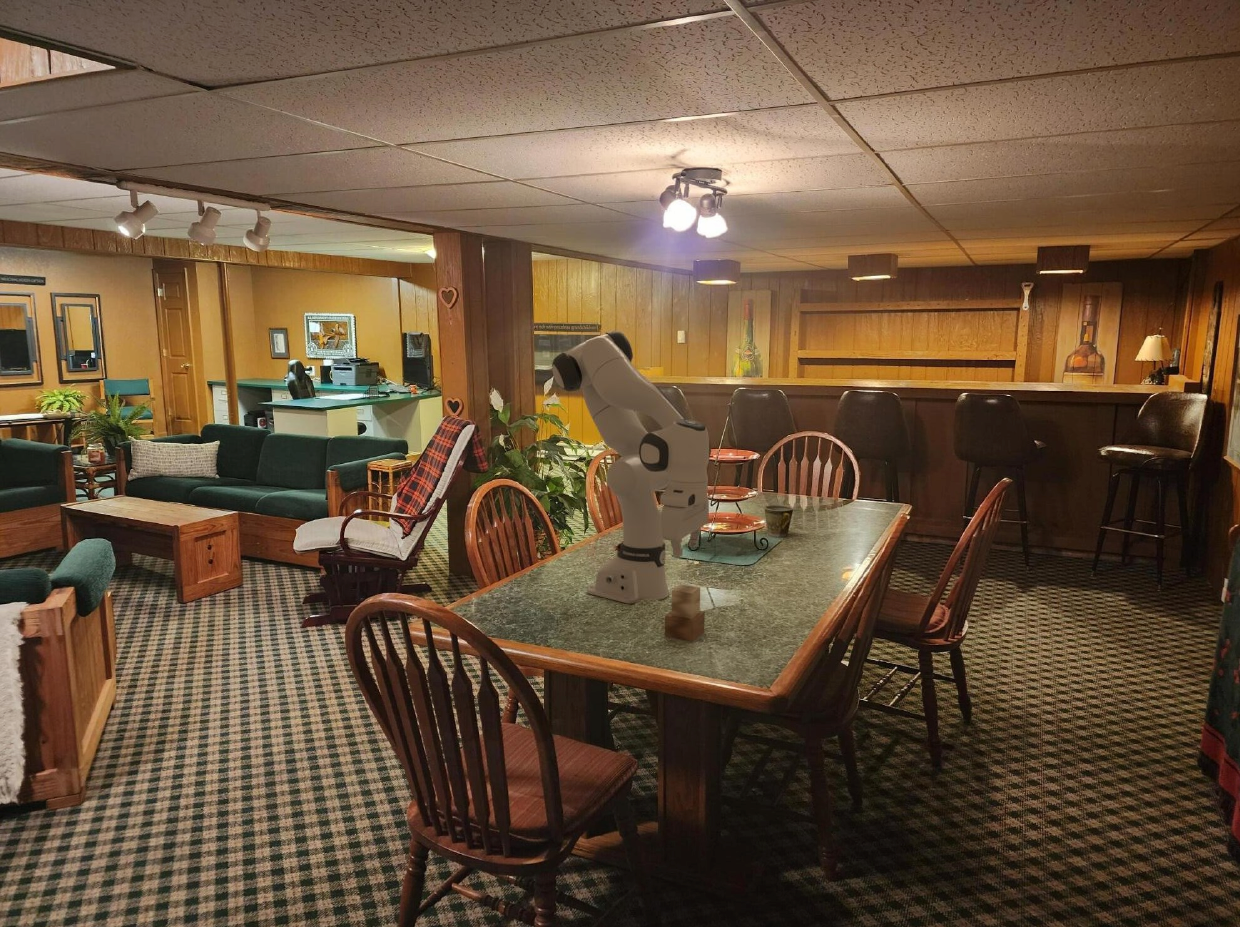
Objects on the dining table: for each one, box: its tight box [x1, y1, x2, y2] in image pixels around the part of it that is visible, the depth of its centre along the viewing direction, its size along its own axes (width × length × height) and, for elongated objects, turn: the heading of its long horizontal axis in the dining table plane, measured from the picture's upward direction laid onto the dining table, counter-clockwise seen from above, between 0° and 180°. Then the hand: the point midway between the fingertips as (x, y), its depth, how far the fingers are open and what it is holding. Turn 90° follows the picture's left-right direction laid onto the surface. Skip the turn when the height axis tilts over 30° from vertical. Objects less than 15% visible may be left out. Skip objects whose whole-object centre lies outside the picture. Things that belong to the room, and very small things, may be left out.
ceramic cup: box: [764, 504, 794, 538], centre depth 284 cm, size 13×10×10 cm
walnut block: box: [664, 610, 706, 643], centre depth 185 cm, size 7×7×5 cm
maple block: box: [670, 583, 701, 619], centre depth 185 cm, size 5×5×6 cm
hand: (685, 551), depth 183 cm, fingers open, 8 cm apart
